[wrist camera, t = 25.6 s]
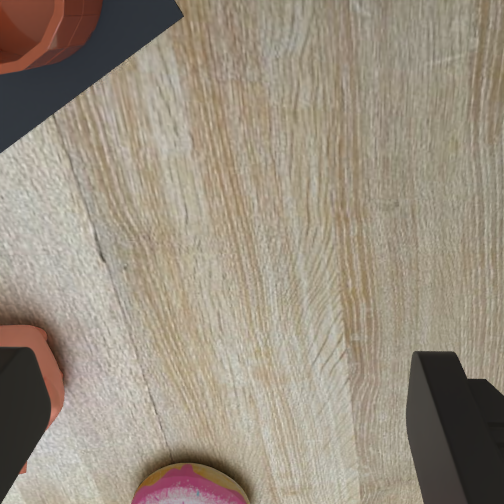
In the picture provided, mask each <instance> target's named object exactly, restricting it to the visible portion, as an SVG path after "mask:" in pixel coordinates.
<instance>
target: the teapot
mask: <svg viewBox="0 0 504 504" xmlns="http://www.w3.org/2000/svg"><path fill="white" fill-rule="evenodd" d="M46 341H47V334H46V332H45V331H44V330H43V329H41V328H39V327H34V326H31V325H2V326H0V347H29V348H31V349H32V350H33V351H34V353H35V355H36V358H37V361H38V364H39V367H40V370H41V373H42V376H43V379H44V382H45V385H46V388H47V391H48V393H49V396H50V400H51V416H50V421H49V424H48V426H47V428H46V430H47V429H48V428H49V426H50V425H51V424H52V423H53V421H54V420H55V419H56V417H57V416H58V414H59V412H60V411H61V409H62V406H63V403H64V395H65V391H64V385H63V381H62V379H63V373H62V372H61V371H60V370H59V367H58V365H57V362H56V360H55V358H54V356H53V354H52V352H51V350H50V348H49V346H48V344H47V343H46ZM46 430H45V431H46ZM26 468H27V462H26V463H25V465H24V466H23V468H22V470H21V471H20V473H19V474H23V473H26Z"/></svg>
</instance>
